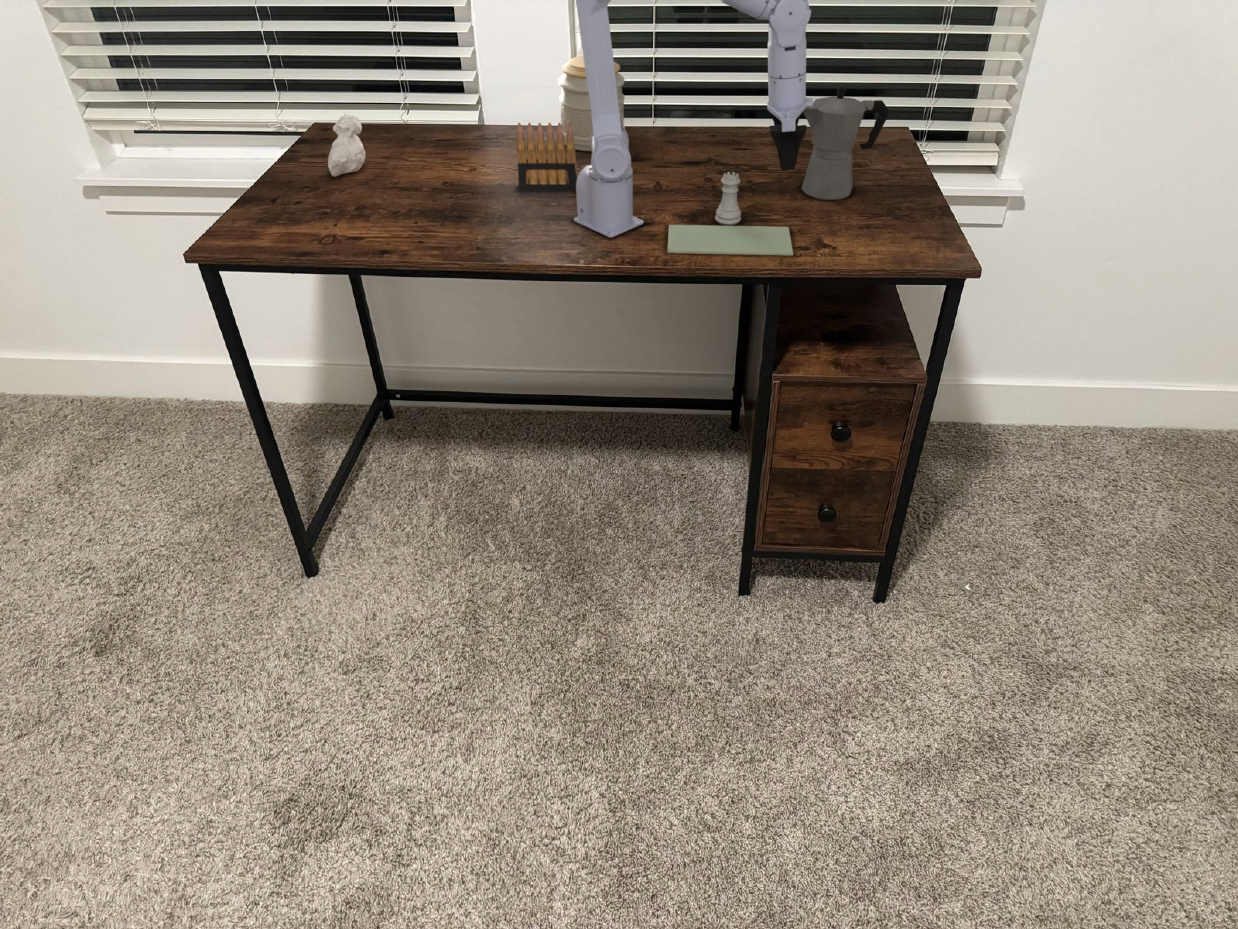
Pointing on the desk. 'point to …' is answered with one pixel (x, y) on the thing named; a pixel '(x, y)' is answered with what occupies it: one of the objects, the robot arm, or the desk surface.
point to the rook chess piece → (729, 201)
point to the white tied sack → (346, 147)
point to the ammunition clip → (546, 160)
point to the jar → (581, 102)
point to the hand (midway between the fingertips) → (787, 159)
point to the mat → (729, 240)
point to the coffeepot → (837, 142)
